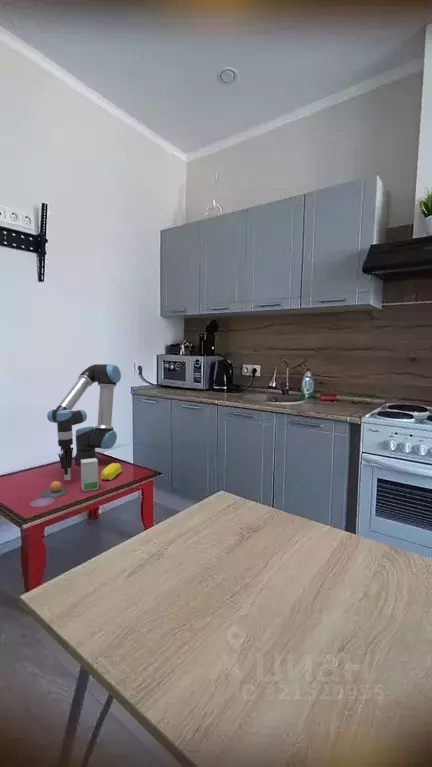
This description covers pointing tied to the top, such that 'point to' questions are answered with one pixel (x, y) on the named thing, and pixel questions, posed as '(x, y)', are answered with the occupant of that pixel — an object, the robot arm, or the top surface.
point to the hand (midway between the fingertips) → (67, 479)
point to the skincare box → (89, 474)
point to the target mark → (54, 493)
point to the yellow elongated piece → (111, 471)
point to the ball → (55, 486)
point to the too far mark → (42, 502)
